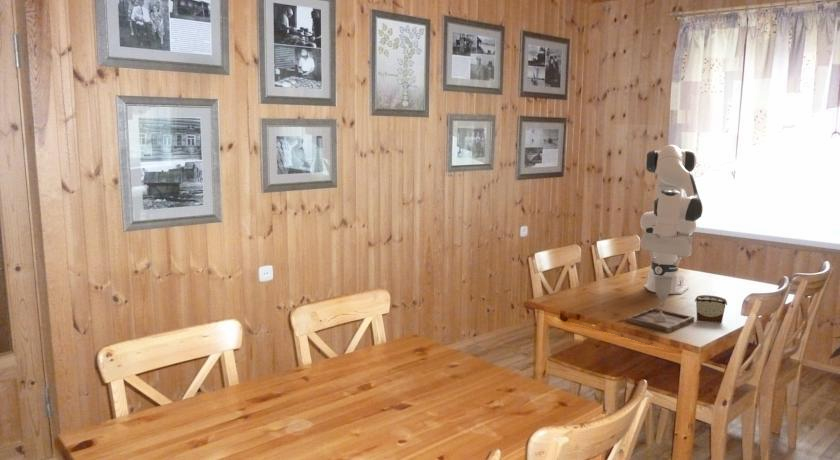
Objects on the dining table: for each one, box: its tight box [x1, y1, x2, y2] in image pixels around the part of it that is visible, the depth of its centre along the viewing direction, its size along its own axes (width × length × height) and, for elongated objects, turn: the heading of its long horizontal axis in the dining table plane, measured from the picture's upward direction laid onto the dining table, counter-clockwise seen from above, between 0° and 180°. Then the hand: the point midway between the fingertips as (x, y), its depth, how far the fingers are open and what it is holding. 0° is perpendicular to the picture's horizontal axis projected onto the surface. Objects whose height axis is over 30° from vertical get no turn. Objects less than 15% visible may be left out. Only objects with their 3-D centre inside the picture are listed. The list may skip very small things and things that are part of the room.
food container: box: [694, 294, 728, 324], centre depth 260 cm, size 12×6×10 cm, turn 71°
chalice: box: [654, 276, 673, 322], centre depth 256 cm, size 7×7×18 cm
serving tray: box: [626, 307, 695, 334], centre depth 258 cm, size 22×18×2 cm
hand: (664, 263), depth 254 cm, fingers open, 8 cm apart
